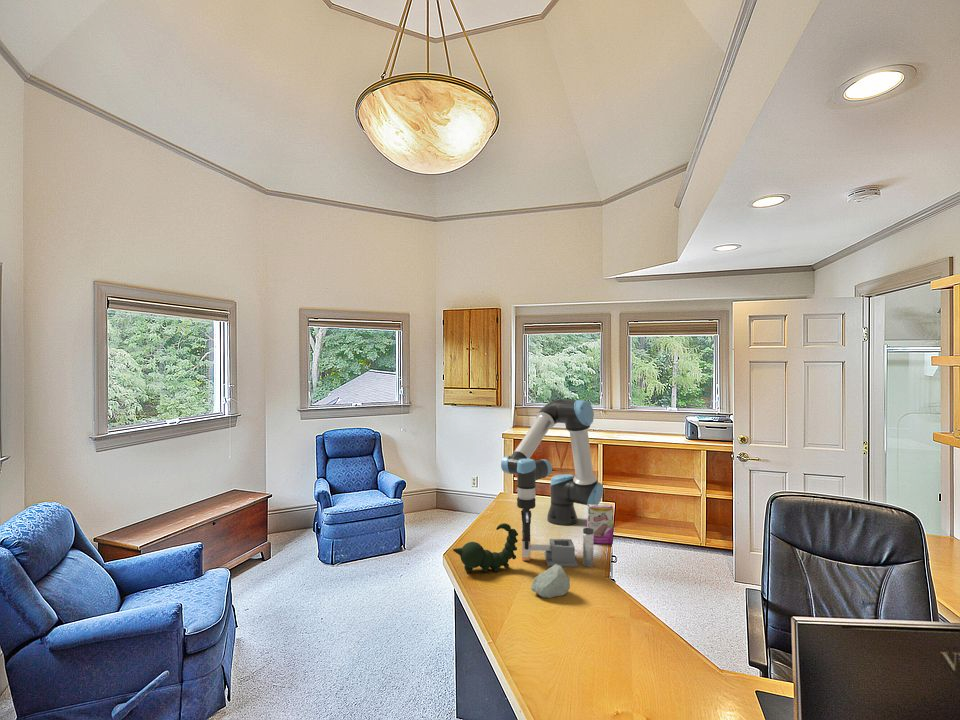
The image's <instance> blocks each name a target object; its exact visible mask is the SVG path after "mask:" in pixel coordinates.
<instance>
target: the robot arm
mask: <svg viewBox="0 0 960 720" xmlns="http://www.w3.org/2000/svg"><path fill="white" fill-rule="evenodd" d="M594 414H595V412H594V407H593V406H592V404H591V403H590V402H589V401H587V400H582V399H565V398H564V399H563V398H558V399H554V400H552V401H550V402H548V403H547V404H546V405H544V406H543V407H542V408H541V409H540V410H539V411H538V412H537V414H536V419H535V421H533V423H532V425H531V427H529V429H528V431H527V432H526V434H525V435H524V437H523V438H522V439H521V441H520V442H519V444H518V445H517V447H516V449H515V450H514V451H513V453H512V454H511V455H505V456H503V457H502V459H501V462H500V467H501V470H502V472H504V473H506V474H509V475H517V477H516V479H517V480H516V481H517V484H516V486H517V487H516V489H515V492H517V493H516V494H517V495H516V497H517V498H516V507H517V508H519V509H521V511H520V515H521V522H522V523H521V524H522V530H521V533H522V532H524V539H522V538H521V542H522V541H523V557H530V558H531V551H530V544H531V524H532V521H531V519H532V510H531V509H534V508H536V497H537V495H536V491H537V490H536V489H537V488H536V481H538V480H541V479H545V478H546V477H548V476H550V475H551V474H552V471H553V466H552V463H551V462H550V461H549V460H547V459H543V458H541V459H539V460H538V459H532V458H531V457H532V455H534V453H535V451H536V449H537V448H538V447H539V446H540V443H541V442H542V441H543V439H544V437H545V436H546V435H547V433H548V431H549V430H550V429H552V428H553V427H554V426H555V425H556V424H565V430H566V431H568V432H569V437H570V445H571V451H572V457H573V466H574V474H575V476H574V475H573V474H572V473H571V474H570V473H568V474H567V473H565V474H556V475H554V476H552V477H551V479H550V507H549V509H548V512H547V515H546V516H547V517H546V519H547V520H546V521H548V522H549V523H550V524H553V525H554V524H555V525H560V526H562V525H563V526H570V525H574V524H576V523H577V522H578V515H577V512H576V510H575V505H574V503H575V504H579V505H585V506H586V507H588V504H595V505H600V504H601V501H602V498H603V494H604V486H603V484H602V483H601V482H598V477H597V475H595V474H594V469H593V462H592V461H593V460H592V453H591V445H590V439H589V438H590V437H589V431H588V430H589V429H590V427H591V425H592V424H593V422H594V417H595V415H594Z"/></svg>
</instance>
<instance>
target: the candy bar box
mask: <svg viewBox="0 0 960 720" xmlns="http://www.w3.org/2000/svg"><path fill="white" fill-rule="evenodd" d="M586 507H587V513H586V515H587V516H586V517H587V518H586V519H587V521H586V523H587V525H586V528H591V529H593V530H594V533H593V544H598V545H599V544H600V545H614V507H613V505H612V504H598V505H595V504H588V506H586Z"/></svg>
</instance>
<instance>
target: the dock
mask: <svg viewBox="0 0 960 720" xmlns="http://www.w3.org/2000/svg"><path fill="white" fill-rule="evenodd" d="M549 545H551V551H543V552H544V553H543V554H544V558H545V563H546V566H547V567H552V566H554V565H555V564H557V565H560V566H562V567H577V568H578V566H579V564H578V561H577V559H576V556H575V554H576V553H575V552H576V551H575V549H576V547H575V545H574V542H573V541H572V539H571V538H570V539H569V538H562V539H561V538H549ZM555 545H562V546H555Z"/></svg>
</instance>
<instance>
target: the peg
mask: <svg viewBox="0 0 960 720" xmlns="http://www.w3.org/2000/svg"><path fill="white" fill-rule="evenodd" d="M593 533H594V530H593V529H591V528H587V527H584V528H582V534H583V536H582V537H583V538H582V539H583V540H582V542H583V543H582V548H583V549H582V566H584V567H588V568H590V567H593V566H594V543H593Z"/></svg>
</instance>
